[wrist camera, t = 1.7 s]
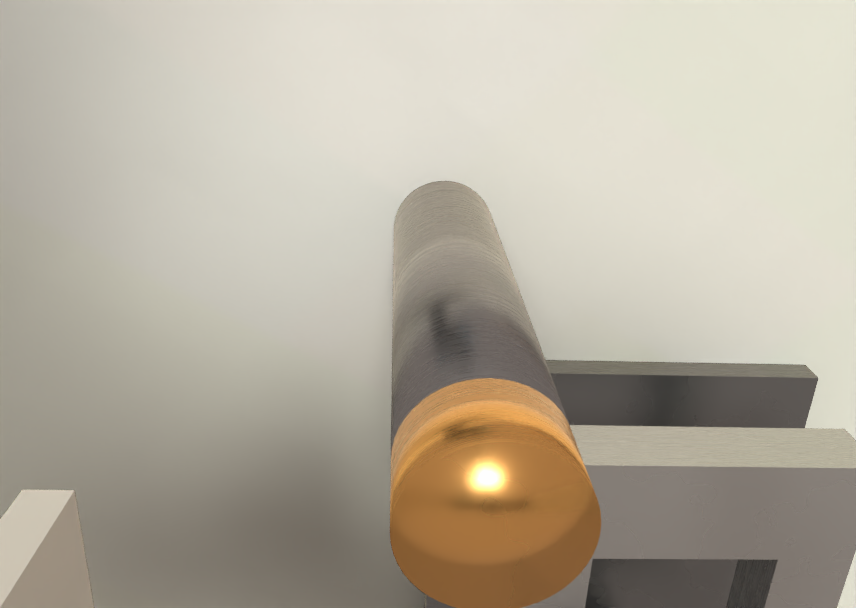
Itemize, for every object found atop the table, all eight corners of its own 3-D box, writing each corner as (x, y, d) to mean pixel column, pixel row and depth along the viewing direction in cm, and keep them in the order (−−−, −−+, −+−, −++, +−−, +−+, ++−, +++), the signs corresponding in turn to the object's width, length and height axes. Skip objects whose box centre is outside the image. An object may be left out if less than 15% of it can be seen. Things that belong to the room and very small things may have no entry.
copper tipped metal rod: (394, 179, 26) (392, 441, 12) (496, 182, 26) (614, 443, 12) (392, 274, 27) (388, 612, 13) (488, 276, 27) (587, 611, 13)
